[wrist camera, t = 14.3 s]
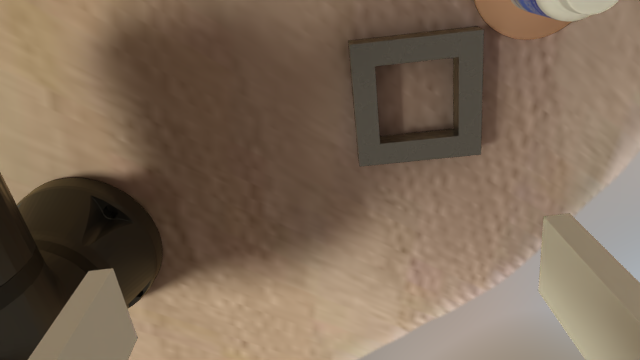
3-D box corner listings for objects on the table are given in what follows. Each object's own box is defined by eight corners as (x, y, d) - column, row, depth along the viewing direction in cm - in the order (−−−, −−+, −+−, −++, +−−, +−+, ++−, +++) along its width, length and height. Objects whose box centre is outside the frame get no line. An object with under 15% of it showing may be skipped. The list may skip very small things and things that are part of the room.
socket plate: (358, 158, 48) (359, 166, 46) (348, 40, 43) (349, 44, 41) (474, 146, 47) (480, 154, 45) (476, 26, 42) (483, 29, 41)
